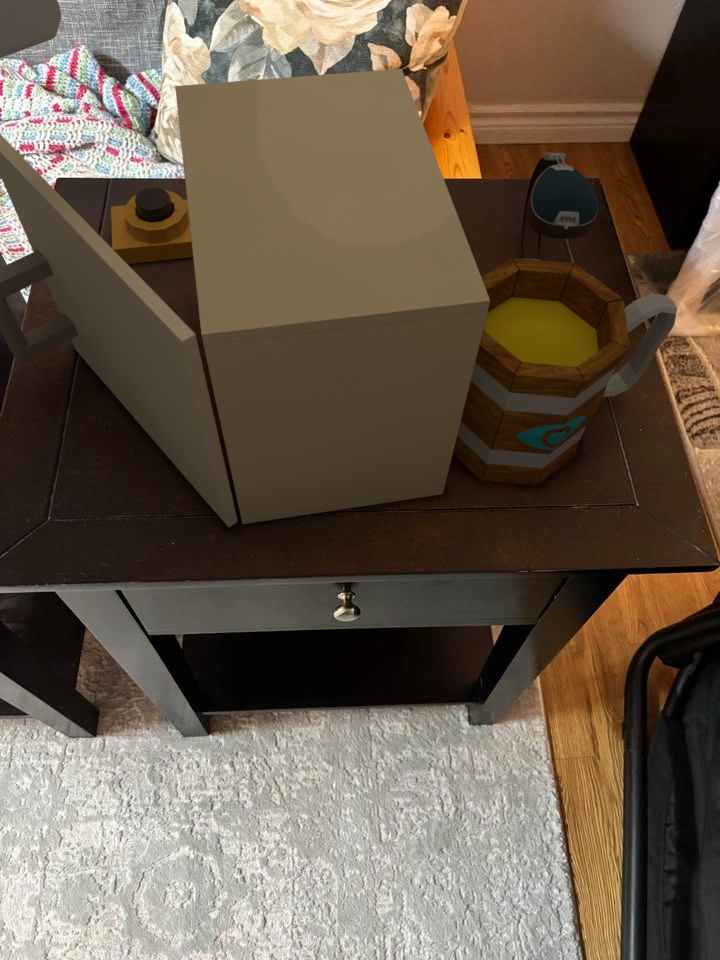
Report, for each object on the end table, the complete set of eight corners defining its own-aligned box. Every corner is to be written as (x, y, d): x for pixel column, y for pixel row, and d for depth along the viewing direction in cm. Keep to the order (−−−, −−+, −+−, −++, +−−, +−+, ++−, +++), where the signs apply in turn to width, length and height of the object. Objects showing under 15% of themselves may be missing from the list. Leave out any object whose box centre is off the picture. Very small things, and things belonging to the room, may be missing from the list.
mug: (468, 503, 67) (500, 401, 54) (417, 389, 74) (435, 273, 61) (662, 452, 71) (735, 344, 58) (597, 347, 77) (649, 229, 64)
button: (139, 225, 80) (135, 211, 78) (137, 202, 81) (134, 189, 80) (173, 221, 80) (170, 208, 78) (171, 199, 82) (168, 185, 80)
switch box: (116, 265, 81) (107, 235, 78) (115, 222, 85) (106, 192, 82) (209, 255, 83) (204, 226, 79) (204, 213, 86) (199, 183, 83)
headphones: (576, 384, 73) (551, 247, 87) (624, 253, 61) (586, 117, 74) (512, 381, 73) (497, 244, 87) (547, 249, 61) (523, 114, 75)
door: (171, 567, 63) (95, 390, 43) (22, 379, 73) (-97, 163, 52) (238, 521, 65) (195, 333, 45) (85, 345, 75) (-7, 127, 55)
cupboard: (242, 524, 65) (201, 334, 45) (216, 308, 78) (175, 85, 58) (442, 494, 67) (490, 300, 47) (384, 289, 81) (401, 68, 60)
